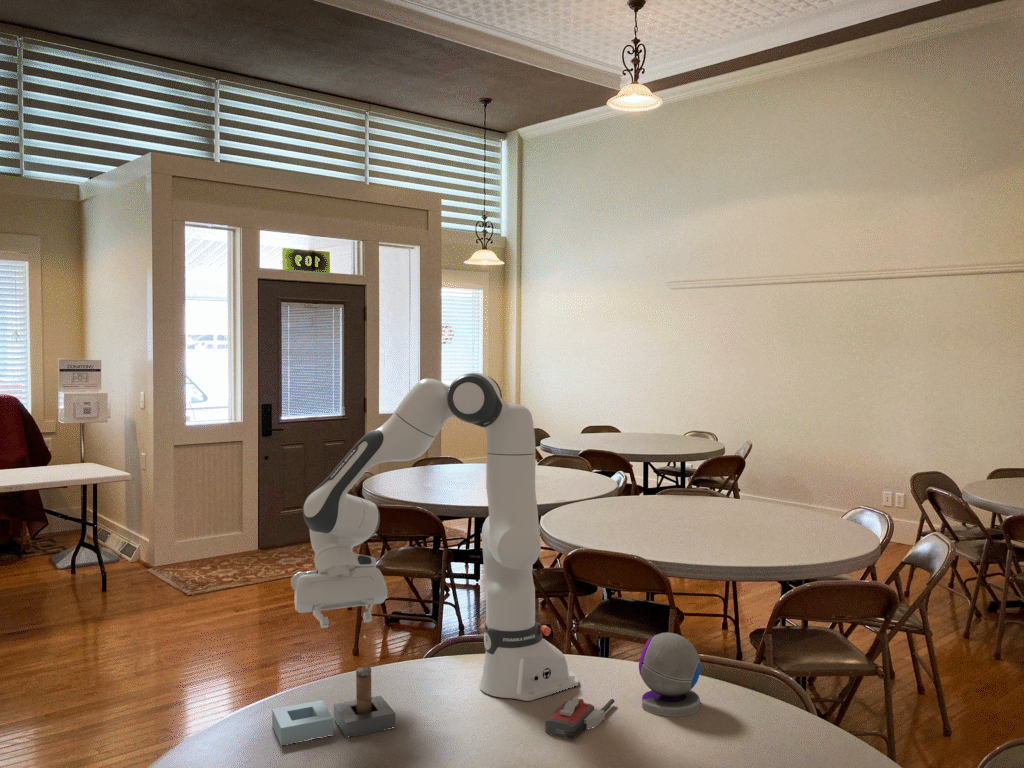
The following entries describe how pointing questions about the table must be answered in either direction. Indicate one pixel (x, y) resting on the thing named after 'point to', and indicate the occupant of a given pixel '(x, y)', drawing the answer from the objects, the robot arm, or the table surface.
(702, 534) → the table surface
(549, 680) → the robot arm
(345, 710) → the socket block
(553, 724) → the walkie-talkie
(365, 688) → the peg
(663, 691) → the webcam
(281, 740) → the block
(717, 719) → the table surface
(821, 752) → the table surface
